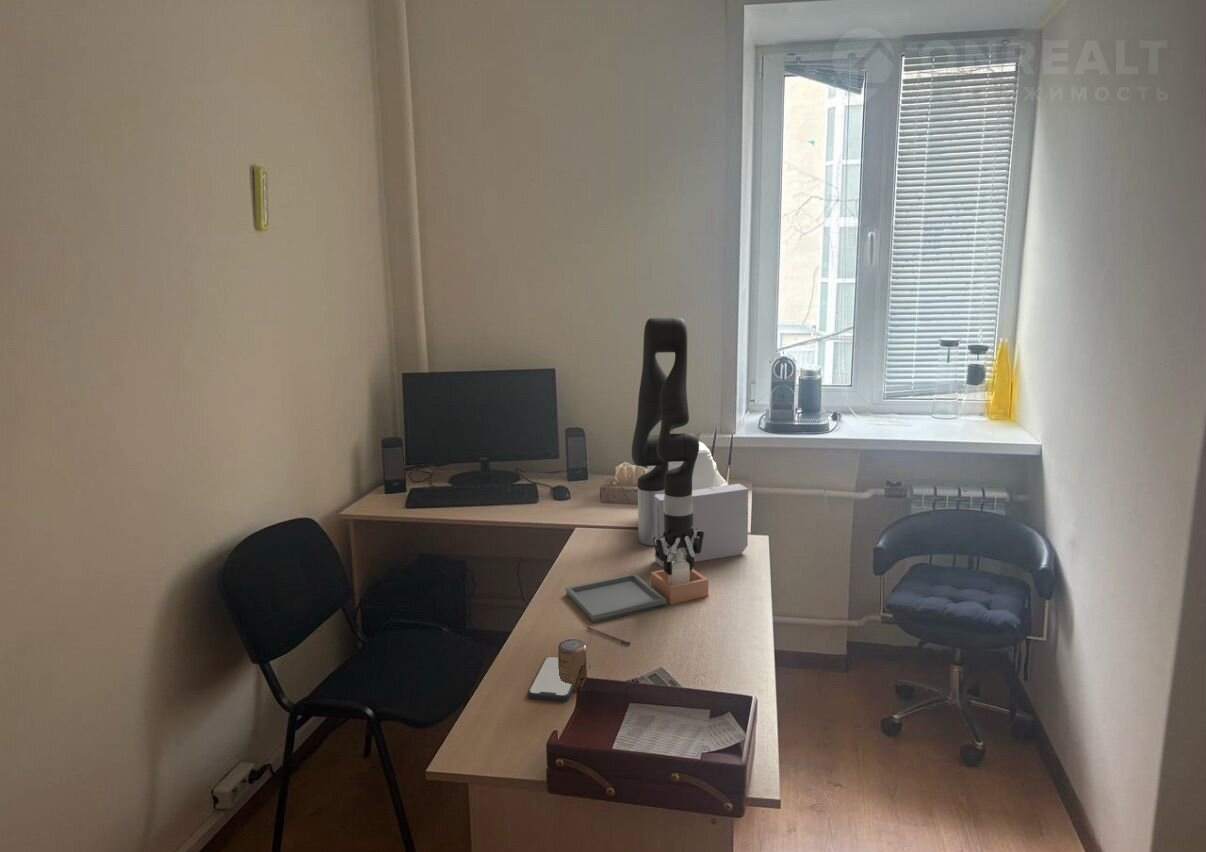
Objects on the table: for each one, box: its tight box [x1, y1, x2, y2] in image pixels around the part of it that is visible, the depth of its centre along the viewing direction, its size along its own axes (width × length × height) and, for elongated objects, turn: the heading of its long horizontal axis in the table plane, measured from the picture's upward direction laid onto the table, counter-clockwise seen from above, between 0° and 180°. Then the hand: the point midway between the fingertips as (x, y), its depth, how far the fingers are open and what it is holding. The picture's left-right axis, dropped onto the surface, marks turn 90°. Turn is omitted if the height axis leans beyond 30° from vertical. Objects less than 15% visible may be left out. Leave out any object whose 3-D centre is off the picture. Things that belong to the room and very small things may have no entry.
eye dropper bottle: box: [668, 548, 690, 586], centre depth 206 cm, size 4×6×12 cm
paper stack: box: [646, 441, 729, 490], centre depth 257 cm, size 21×27×26 cm
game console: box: [654, 483, 749, 568], centre depth 228 cm, size 6×27×20 cm, turn 108°
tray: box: [565, 573, 667, 624], centre depth 204 cm, size 18×20×2 cm
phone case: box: [527, 656, 575, 703], centre depth 167 cm, size 9×2×16 cm
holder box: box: [650, 567, 709, 605], centre depth 207 cm, size 11×11×4 cm
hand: (678, 571), depth 207 cm, fingers closed on eye dropper bottle, 5 cm apart
